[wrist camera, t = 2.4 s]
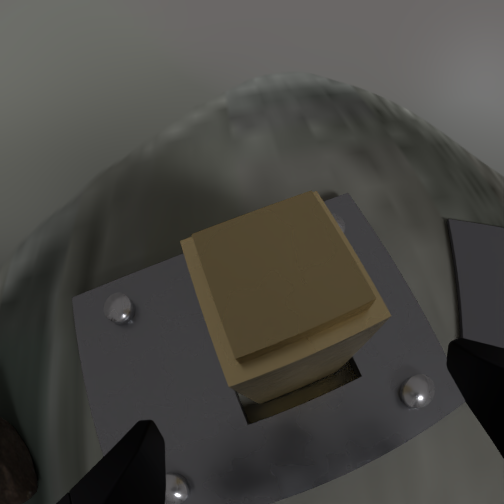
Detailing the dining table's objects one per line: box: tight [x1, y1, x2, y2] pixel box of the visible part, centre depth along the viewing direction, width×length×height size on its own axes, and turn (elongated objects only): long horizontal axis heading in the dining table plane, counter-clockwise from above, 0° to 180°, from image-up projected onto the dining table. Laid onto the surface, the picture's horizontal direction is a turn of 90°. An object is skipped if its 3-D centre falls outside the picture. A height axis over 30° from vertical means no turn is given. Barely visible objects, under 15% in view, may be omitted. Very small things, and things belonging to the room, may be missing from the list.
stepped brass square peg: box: [180, 191, 391, 404], centre depth 14 cm, size 5×5×12 cm
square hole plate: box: [72, 193, 465, 504], centre depth 18 cm, size 17×22×2 cm
